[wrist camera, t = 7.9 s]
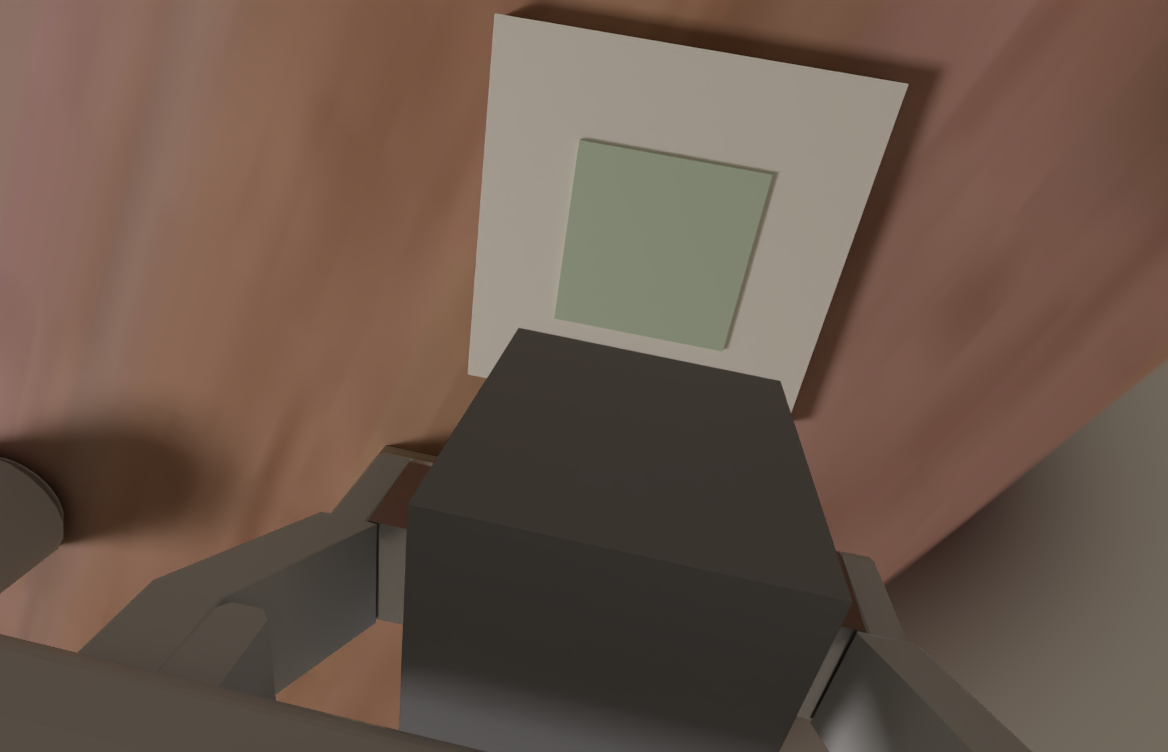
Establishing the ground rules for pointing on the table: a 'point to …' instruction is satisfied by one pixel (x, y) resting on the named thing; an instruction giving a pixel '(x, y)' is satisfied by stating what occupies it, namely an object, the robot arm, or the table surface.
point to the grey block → (616, 561)
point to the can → (26, 521)
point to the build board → (668, 197)
